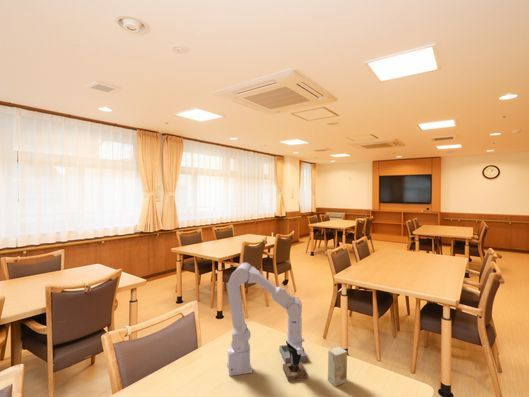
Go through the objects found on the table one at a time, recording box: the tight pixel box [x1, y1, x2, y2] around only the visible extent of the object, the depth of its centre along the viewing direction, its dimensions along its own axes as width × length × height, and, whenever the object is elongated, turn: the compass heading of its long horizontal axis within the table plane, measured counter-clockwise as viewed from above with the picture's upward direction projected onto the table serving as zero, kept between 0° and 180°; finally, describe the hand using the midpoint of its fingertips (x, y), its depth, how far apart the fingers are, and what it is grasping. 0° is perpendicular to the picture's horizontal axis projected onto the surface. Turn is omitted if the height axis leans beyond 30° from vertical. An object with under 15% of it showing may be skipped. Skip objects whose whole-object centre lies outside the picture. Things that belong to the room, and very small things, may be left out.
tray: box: [278, 344, 308, 364], centre depth 129 cm, size 10×10×2 cm
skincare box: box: [327, 346, 348, 387], centre depth 111 cm, size 6×4×12 cm
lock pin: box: [290, 354, 299, 373], centre depth 116 cm, size 3×3×8 cm
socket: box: [282, 362, 308, 382], centre depth 116 cm, size 8×8×2 cm
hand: (294, 361), depth 116 cm, fingers closed on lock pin, 3 cm apart
